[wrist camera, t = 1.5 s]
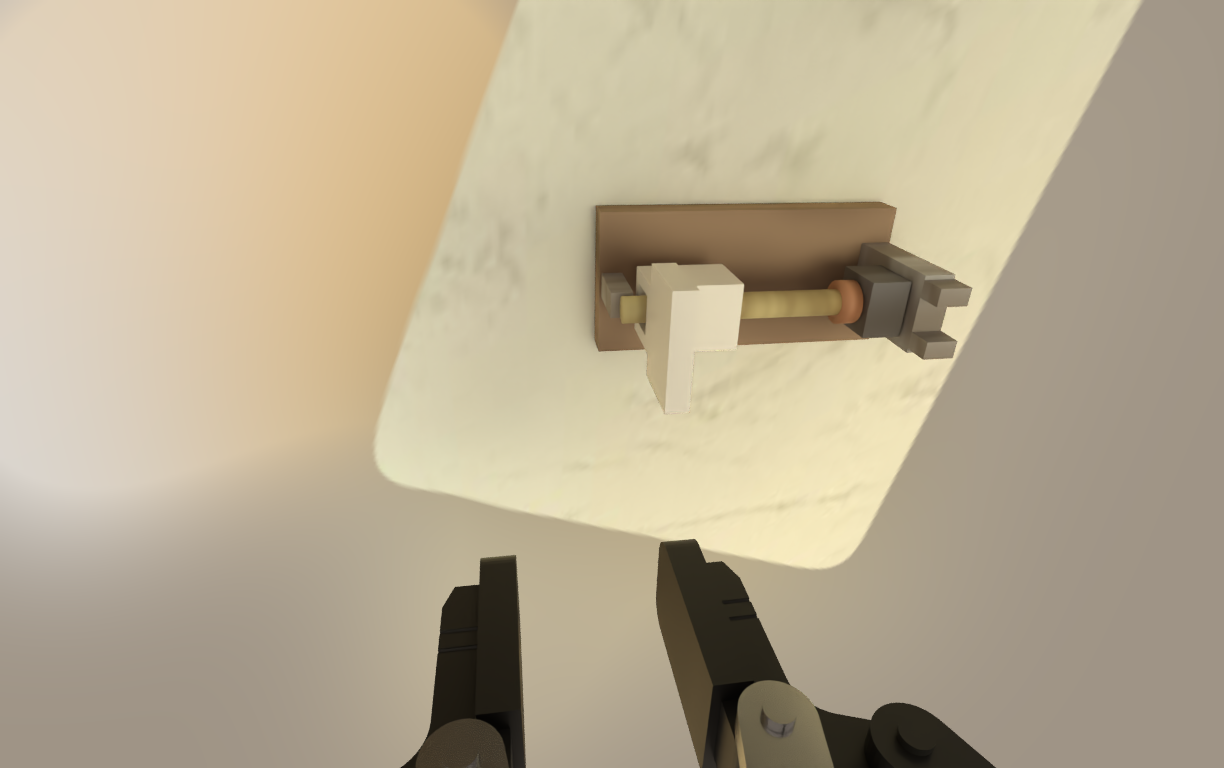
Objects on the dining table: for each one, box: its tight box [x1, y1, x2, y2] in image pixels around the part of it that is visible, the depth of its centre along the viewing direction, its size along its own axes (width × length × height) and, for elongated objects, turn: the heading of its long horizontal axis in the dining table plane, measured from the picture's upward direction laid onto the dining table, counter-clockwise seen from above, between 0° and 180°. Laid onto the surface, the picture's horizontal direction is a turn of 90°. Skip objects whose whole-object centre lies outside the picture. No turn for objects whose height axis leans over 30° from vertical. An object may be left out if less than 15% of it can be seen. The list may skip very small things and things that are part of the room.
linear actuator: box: [595, 202, 972, 360], centre depth 30 cm, size 7×15×8 cm, turn 89°
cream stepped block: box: [634, 263, 744, 414], centre depth 27 cm, size 5×4×6 cm
